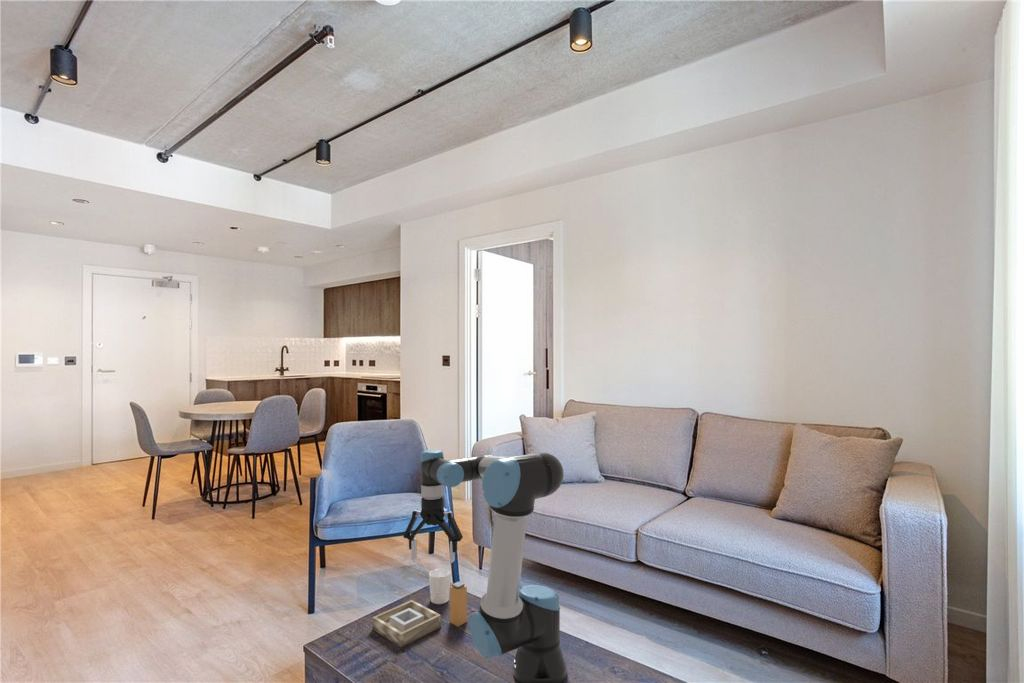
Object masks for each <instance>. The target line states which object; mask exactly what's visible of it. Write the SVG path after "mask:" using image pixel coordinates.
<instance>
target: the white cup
mask: <svg viewBox="0 0 1024 683" xmlns="http://www.w3.org/2000/svg"><path fill="white" fill-rule="evenodd" d="M428 578H429V581H428V582H429V593H430V603H432V604H435V605H442V604H443V605H444V604H446V603H447V602H449V601H450V586H451V571H450V569H447V568H434V569H432V570H430V571H429V574H428Z"/></svg>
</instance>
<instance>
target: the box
mask: <svg viewBox="0 0 1024 683" xmlns="http://www.w3.org/2000/svg"><path fill="white" fill-rule="evenodd" d="M408 608H411V609H413V610H415V611H416V612H418V613H420V614H422V615H424V622H422V623H420V624H418V625H416V626H414V627H412V628H409V629H407V630H405V631H403V632H401V631H399V630H397V629H396V628H394V627H392V626H391V625H390V616H392V615H395V614H397V613H399V612H401V611H403V610H406V609H408ZM371 620H372V622H371V625H372V631H374V632H376V633H377V634H379V635H381V636H382V637H384V638H385V639H386V640H388V641H390V642H391V643H393V644H395V645H396V646H398V648H404V647H406V646H408V645H409V644H411V643H413V642H416V641H417V640H419V639H422V638H423V637H425V636H427V635H429V634H431V633H432V632H434V631H436V630H438V629H440V628H441V627H442V615H441V614H439V612H436V611H434V610H432V609H430V608H429V607H427V606H425V605H423V604H421V603H419V602H417V601H415V600H413V599H411V600H409V601H405V602H404V603H402V604H399V605H398V606H394V607H393V608H391V609H388V610H386V611H384V612H381V613H379V614H377V615H375V616H372V618H371ZM408 620H409V619H408ZM408 620H406V621H408ZM406 621H404V622H406Z"/></svg>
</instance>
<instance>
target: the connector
mask: <svg viewBox="0 0 1024 683" xmlns="http://www.w3.org/2000/svg"><path fill="white" fill-rule="evenodd" d="M467 588H468V586H467V585H465V583H464V582H461V581H460V580H459V581H456V582H453V583H452V584H451V585H450V592H449V619H450V620H449V622H450V624H452V625H454V626H456V627H460V626H462V625H464V624H465V623H467V622H468V613H467V612H468V605H467V604H468V596H467V595H468V594H467V593H468V592H467V590H468V589H467Z"/></svg>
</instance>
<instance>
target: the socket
mask: <svg viewBox="0 0 1024 683" xmlns="http://www.w3.org/2000/svg"><path fill="white" fill-rule="evenodd" d="M408 619H409V620H408ZM406 620H408V621H406ZM404 621H406V622H404ZM422 622H424V615H422V614H420V613H418V612H416V611H415V610H413V609H411V608H408V609H406V610H403V611H401V612H399V613H397V614H395V615H392V616H390V625H391V626H392V627H394V628H396V629H397V630H399V631H401V632H403V631H405V630H407V629H409V628H412V627H414V626H416V625H418V624H420V623H422Z"/></svg>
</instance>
